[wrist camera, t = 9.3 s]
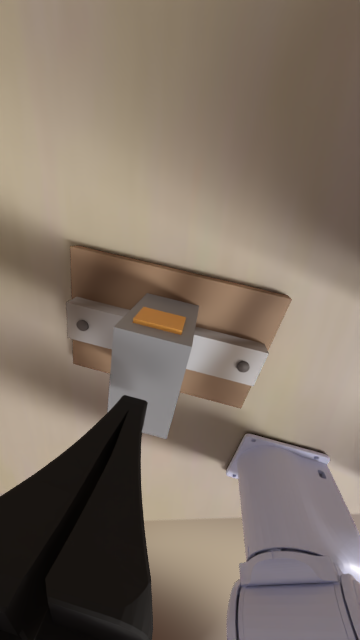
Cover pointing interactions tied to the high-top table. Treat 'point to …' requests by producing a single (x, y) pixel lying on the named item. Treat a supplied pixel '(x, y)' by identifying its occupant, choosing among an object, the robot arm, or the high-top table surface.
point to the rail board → (206, 292)
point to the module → (152, 357)
